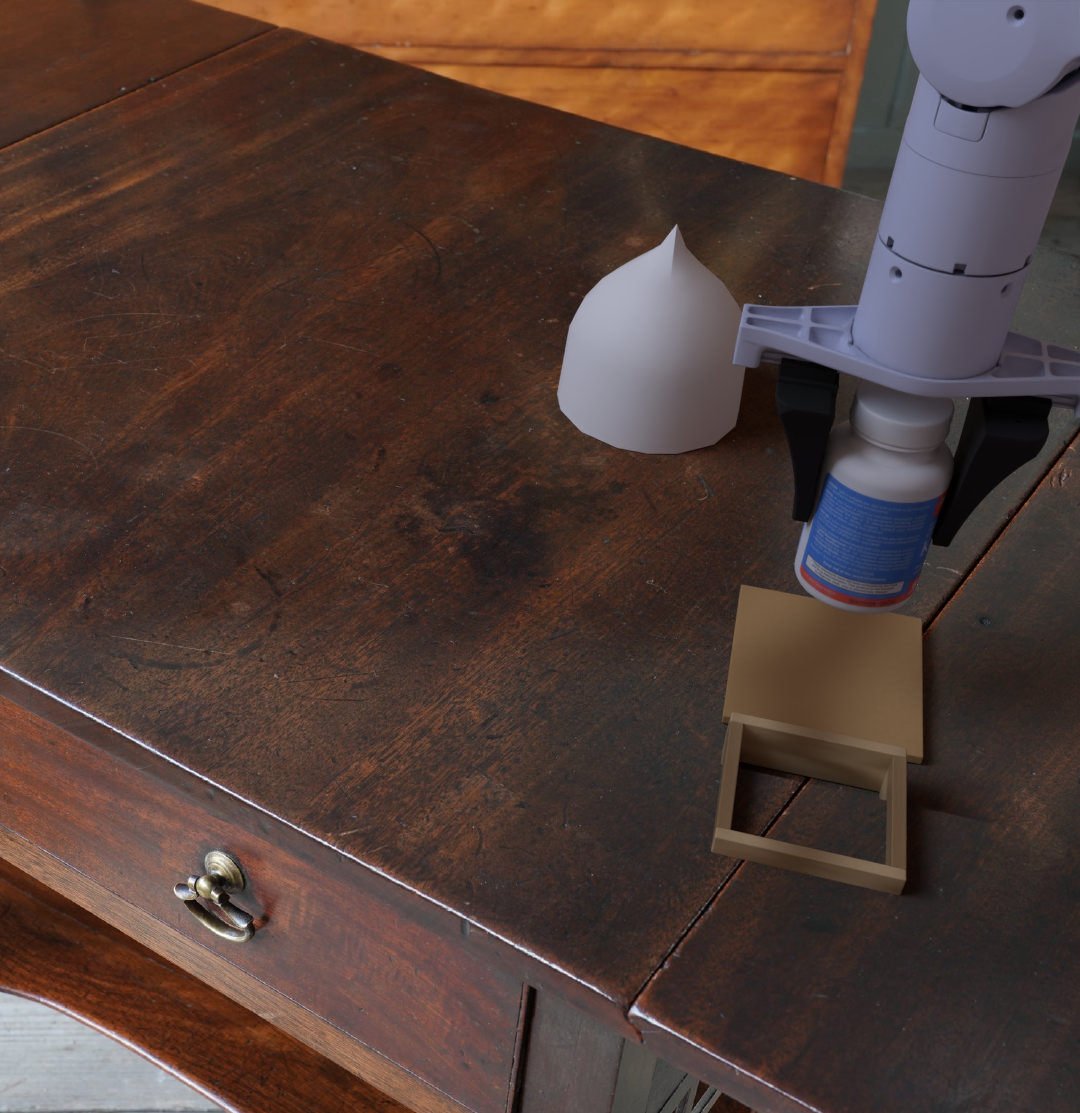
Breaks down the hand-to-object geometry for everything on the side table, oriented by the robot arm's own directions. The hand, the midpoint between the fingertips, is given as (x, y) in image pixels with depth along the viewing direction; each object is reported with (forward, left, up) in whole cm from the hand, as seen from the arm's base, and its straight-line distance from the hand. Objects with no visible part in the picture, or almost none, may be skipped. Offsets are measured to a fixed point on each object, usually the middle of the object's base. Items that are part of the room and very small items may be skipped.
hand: (870, 520), depth 65 cm
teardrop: (+11, -22, -10) cm, 27 cm away
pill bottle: (0, 0, -4) cm, 4 cm away
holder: (0, +10, -10) cm, 14 cm away
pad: (0, -1, -10) cm, 10 cm away
